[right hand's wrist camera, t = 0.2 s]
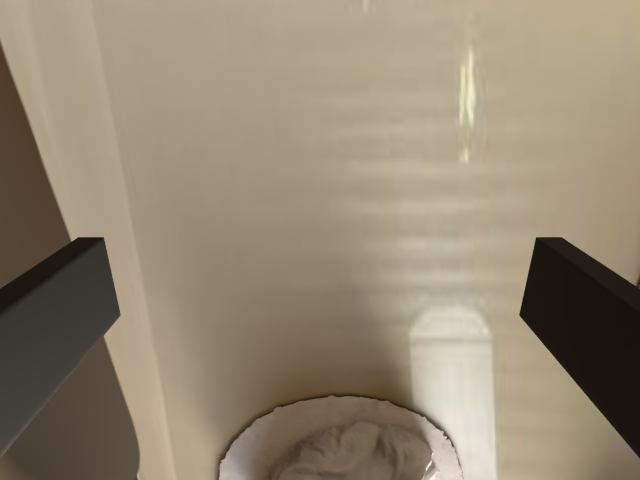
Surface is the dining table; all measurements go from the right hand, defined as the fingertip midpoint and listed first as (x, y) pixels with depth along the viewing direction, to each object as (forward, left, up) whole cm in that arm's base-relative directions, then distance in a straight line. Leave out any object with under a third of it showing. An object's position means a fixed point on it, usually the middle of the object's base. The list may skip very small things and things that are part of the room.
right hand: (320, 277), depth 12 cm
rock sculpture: (+47, +4, -28) cm, 55 cm away
